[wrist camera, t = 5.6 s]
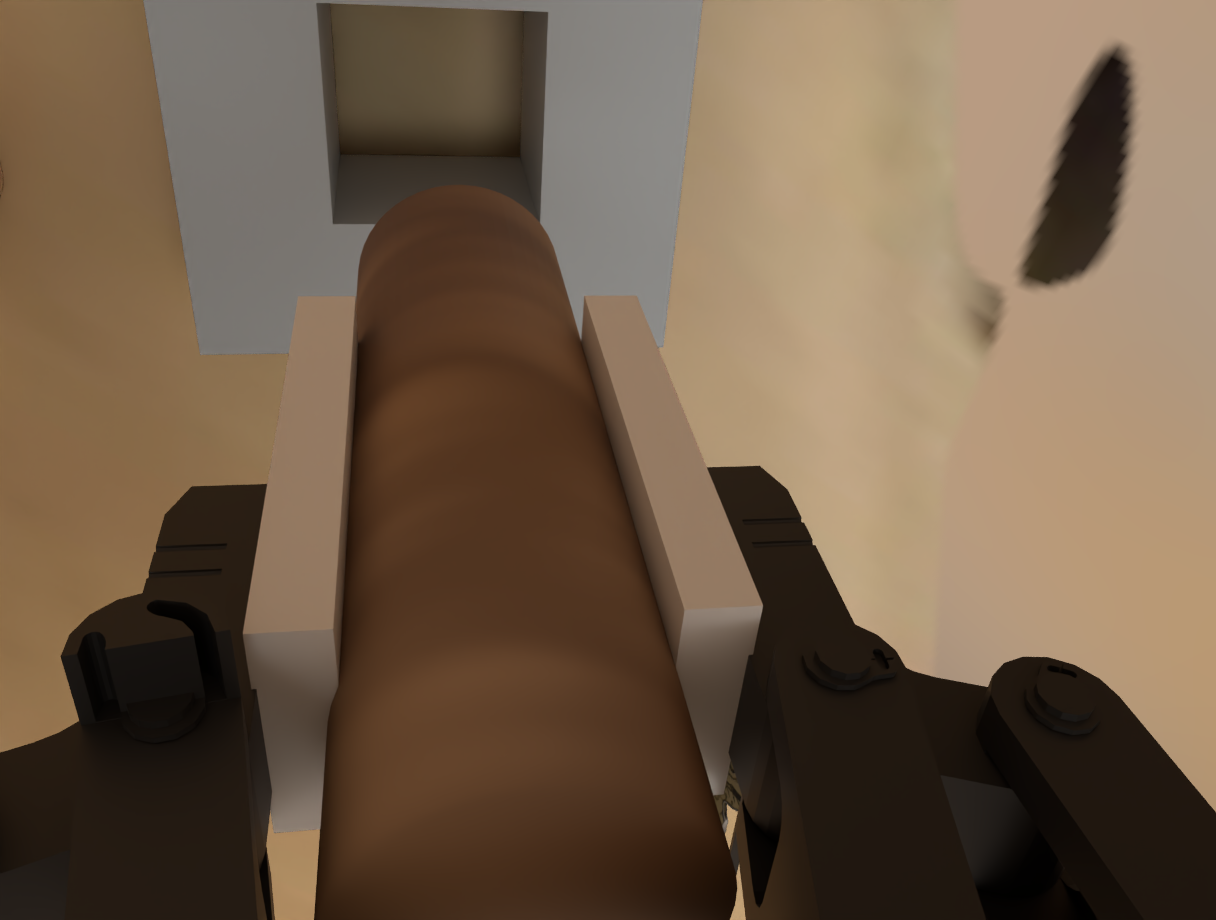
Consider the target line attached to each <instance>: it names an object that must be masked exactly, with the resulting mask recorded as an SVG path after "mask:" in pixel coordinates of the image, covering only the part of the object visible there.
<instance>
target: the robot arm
mask: <svg viewBox="0 0 1216 920" xmlns="http://www.w3.org/2000/svg"><path fill="white" fill-rule="evenodd" d="M581 343H582V347H583V350H584V353H585V357H586V360H587V364H588V367H589V371H590V374H591V378H592V381H593V384H594V388H595V391H596V395H597V398H598V402H599V405H600V408H601V412H602V415H603V419H604V422H605V426H606V429H607V433H608V436H609V439H610V443H611V446H612V450H613V453H614V457H615V460H616V464H617V467H618V470H619V474H620V477H621V481H622V484H623V488H624V491H625V495H626V498H627V501H628V505H629V508H630V512H631V515H632V519H633V522H634V525H635V529H636V532H637V536H638V539H639V543H640V546H641V550H642V553H643V556H644V560H645V563H646V567H647V570H648V574H649V577H650V581H651V584H652V587H653V591H654V594H655V598H656V601H657V605H658V608H659V612H660V615H661V618H662V622H663V625H664V629H665V632H666V636H667V639H668V642H669V646H670V649H671V653H672V656H673V660H674V663H675V667H676V670H677V673H678V676H679V679H680V682H681V686H682V689H683V693H684V696H685V700H686V703H687V707H688V710H689V713H690V717H691V720H692V724H693V727H694V731H695V734H696V737H697V741H698V744H699V748H700V751H701V755H702V758H703V762H704V765H705V768H706V772H707V775H708V779H709V782H710V786H711V789H712V792H713V795H722V794H724V790H725V785H726V781H727V776H728V771H729V766H730V762H732V766H733V769H734V772H735V775H736V778H737V781H738V784H739V788H740V791H741V794H742V796H741V801H740V805H739V810H738V814H737V819H736V823H735V828H734V832H733V837H732V841H731V846H730V850H729V851H730V854H731V858H732V861H733V865H734V868H735V871H736V874H737V870H738V865H739V864H740V873H741V882H742V890H743V899H744V907H745V916H746V920H1216V812H1215V811H1214V810H1213V808H1212V807H1211V806H1210V805H1209V804H1208V803H1207V801H1206V800H1205V799H1204V798H1203V796H1202V795H1201V794H1200V793H1199V792H1198V790H1197V789H1196V788H1195V787H1194V786H1193V785H1192V783H1191V782H1190V781H1189V780H1188V779H1187V777H1186V776H1185V775H1184V774H1183V772H1182V771H1181V770H1180V769H1179V768H1178V767H1177V765H1176V764H1175V763H1174V762H1173V760H1172V759H1171V758H1170V757H1169V756H1168V754H1167V753H1166V752H1165V751H1164V750H1163V748H1162V747H1161V746H1160V745H1159V744H1158V743H1157V741H1156V740H1155V739H1154V738H1153V736H1152V735H1151V734H1150V733H1149V732H1148V731H1147V729H1146V728H1145V727H1144V726H1143V724H1142V723H1141V722H1140V721H1139V720H1138V718H1137V717H1136V716H1135V715H1134V714H1133V712H1132V711H1131V710H1130V709H1129V708H1128V706H1127V705H1126V704H1125V703H1124V702H1123V700H1122V699H1121V698H1120V697H1119V696H1118V695H1117V694H1116V693H1115V692H1114V691H1113V690H1111V689H1110V688H1109V687H1108V686H1107V685H1106V684H1105V683H1104V682H1103V681H1101V680H1100V679H1099V678H1097V677H1095V676H1094V675H1092V674H1090V673H1088V672H1087V671H1085V670H1083V669H1081V668H1079V667H1077V666H1075V665H1073V664H1069V663H1066V662H1062V661H1059V660H1055V659H1052V658H1048V657H1021V658H1018V659H1015V660H1012V661H1009V662H1006V663H1004V664H1003V665H1002V666H1001V667H1000V668H999V669H998V670H997V672H996V673H995V674H994V675H993V676H992V678H991V681H990V684H989V686H988V687H984V686H979V685H973V684H967V683H963V682H957V681H952V680H947V679H941V678H936V677H932V676H928V675H925V674H921V673H917V672H914V671H912V670H909V669H907V668H906V667H905V666H904V664H903V662H902V660H901V659H900V657H899V655H898V653H897V652H896V650H895V649H893V648H892V647H891V646H890V645H889V644H887V643H886V642H885V641H884V640H883V639H882V638H880V637H879V636H878V635H876V634H874V633H872V632H870V631H868V630H866V629H863V628H861V627H859V626H857V625H855V624H854V622H853V620H852V618H851V616H850V614H849V612H848V610H847V608H846V606H845V604H844V602H843V600H842V598H841V596H840V594H839V592H838V590H837V588H836V586H835V584H834V582H833V580H832V578H831V576H830V574H829V572H828V570H827V568H826V566H825V564H824V562H823V560H822V558H821V556H820V554H819V552H818V550H817V548H816V546H815V545H813V544H812V538H811V536H810V534H809V532H808V530H807V528H806V526H805V524H804V523H802V522H801V516H800V514H799V512H798V510H797V508H796V506H795V504H794V502H793V500H792V498H791V496H790V494H789V492H788V490H787V489H786V488H785V487H784V486H783V485H781V484H780V483H779V482H778V481H777V480H776V479H774V478H773V477H772V476H771V475H770V474H768V473H767V472H766V471H765V470H764V469H763V468H761V467H760V466H741V467H709V468H707V467H706V464H705V462H704V459H703V457H702V455H701V452H700V450H699V447H698V445H697V442H696V440H695V437H694V435H693V432H692V430H691V428H690V425H689V423H688V420H687V418H686V415H685V413H684V410H683V408H682V406H681V403H680V401H679V398H678V396H677V393H676V391H675V388H674V386H673V383H672V381H671V379H670V376H669V374H668V371H667V369H666V366H665V364H664V361H663V359H662V357H661V354H660V352H659V349H658V347H657V344H656V342H655V339H654V337H653V334H652V332H651V330H650V327H649V325H648V322H647V320H646V317H645V315H644V312H643V310H642V307H641V305H640V303H639V300H638V298H637V296H584V307H583V322H582V336H581ZM357 359H358V329H357V312H356V296H298V300H297V306H296V313H295V319H294V325H293V331H292V337H291V343H290V349H289V355H288V361H287V367H286V373H285V379H284V386H283V392H282V398H281V404H280V410H279V416H278V422H277V428H276V434H275V440H274V446H273V452H272V458H271V465H270V471H269V477H268V483H267V484H257V485H225V486H194V487H191V488H190V489H189V490H188V491H187V492H186V493H185V494H184V495H183V496H182V497H181V498H180V499H179V500H178V502H177V503H176V504H175V505H174V506H173V507H172V508H171V509H170V510H169V511H168V512H167V513H166V514H165V516H164V520H163V523H162V527H161V530H160V534H159V537H158V541H157V544H156V552H154V555H153V558H152V562H151V565H150V569H149V578H147V579H146V583H145V586H144V590H143V593H142V594H138V595H134V596H130V597H127V598H123V599H119V600H116V601H114V602H113V603H111V604H109V605H107V606H105V607H103V608H101V609H100V610H98V611H96V612H94V613H92V614H90V615H89V616H88V617H87V618H86V619H85V620H84V621H83V622H82V623H81V624H80V625H79V626H78V627H77V628H76V629H75V630H74V631H73V632H72V633H71V634H70V635H69V637H68V640H67V642H66V645H65V647H64V650H63V652H62V655H61V659H62V663H63V666H64V669H65V673H66V676H67V680H68V683H69V686H70V690H71V693H72V697H73V700H74V704H75V707H76V710H77V714H78V717H79V721H78V722H77V723H75V724H73V725H72V726H70V727H68V728H66V729H65V730H63V731H61V732H59V733H57V734H55V735H52V736H49V737H47V738H44V739H42V740H39V741H37V742H34V743H31V744H28V745H24V746H21V747H18V748H14V749H11V750H8V751H5V752H1V753H0V920H275V916H274V904H273V893H272V881H271V872H270V866H269V860H268V854H267V848H266V842H267V833H268V824H269V815H270V811H271V817H272V823H273V830H274V833H281V832H293V831H304V830H316V829H320V826H321V811H322V796H323V782H324V767H325V752H326V737H327V723H328V717H329V712H330V707H331V704H332V701H333V699H334V696H335V693H336V691H337V689H338V686H339V669H340V652H341V635H342V617H343V600H344V583H345V566H346V548H347V531H348V514H349V497H350V480H351V462H352V445H353V428H354V411H355V393H356V376H357Z"/></svg>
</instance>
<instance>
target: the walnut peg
mask: <svg viewBox="0 0 1216 920" xmlns="http://www.w3.org/2000/svg"><path fill="white" fill-rule="evenodd" d="M356 312H357V329H358V359H357V376H356V393H355V411H354V428H353V445H352V462H351V480H350V497H349V514H348V531H347V548H346V566H345V583H344V600H343V617H342V635H341V652H340V669H339V686H338V689H337V691H336V693H335V696H334V699H333V701H332V704H331V707H330V712H329V717H328V723H327V737H326V752H325V767H324V782H323V796H322V811H321V826H320V841H319V855H318V870H317V885H316V900H315V914H314V920H730V917H731V914H732V912H733V909H734V906H735V901H736V893H737V880H736V871H735V868H734V865H733V861H732V858H731V854H730V851H729V847H728V844H727V841H726V837H725V834H724V830H723V827H722V823H721V820H720V816H719V813H718V810H717V806H716V803H715V799H714V796H713V792H712V789H711V786H710V782H709V779H708V775H707V772H706V768H705V765H704V762H703V758H702V755H701V751H700V748H699V744H698V741H697V737H696V734H695V731H694V727H693V724H692V720H691V717H690V713H689V710H688V707H687V703H686V700H685V696H684V693H683V689H682V686H681V682H680V679H679V676H678V673H677V670H676V667H675V663H674V660H673V656H672V653H671V649H670V646H669V642H668V639H667V636H666V632H665V629H664V625H663V622H662V618H661V615H660V612H659V608H658V605H657V601H656V598H655V594H654V591H653V587H652V584H651V581H650V577H649V574H648V570H647V567H646V563H645V560H644V556H643V553H642V550H641V546H640V543H639V539H638V536H637V532H636V529H635V525H634V522H633V519H632V515H631V512H630V508H629V505H628V501H627V498H626V495H625V491H624V488H623V484H622V481H621V477H620V474H619V470H618V467H617V464H616V460H615V457H614V453H613V450H612V446H611V443H610V439H609V436H608V433H607V429H606V426H605V422H604V419H603V415H602V412H601V408H600V405H599V402H598V398H597V395H596V391H595V388H594V384H593V381H592V378H591V374H590V371H589V367H588V364H587V360H586V357H585V353H584V350H583V347H582V343H581V339H580V335H579V332H578V328H577V325H576V322H575V318H574V315H573V311H572V308H571V304H570V301H569V298H568V294H567V291H566V287H565V284H564V280H563V277H562V273H561V270H560V267H559V263H558V260H557V256H556V253H555V250H554V247H553V244H552V242H551V240H550V238H549V236H548V234H547V233H546V231H545V229H544V228H543V226H542V225H541V224H540V222H539V221H538V220H537V219H536V218H535V217H534V216H533V215H532V214H531V213H530V212H529V211H528V210H527V209H526V208H524V207H523V206H522V205H520V204H519V203H517V202H516V201H514V200H513V199H511V198H509V197H507V196H505V195H503V194H501V193H499V192H496V191H493V190H490V189H487V188H482V187H477V186H470V185H446V186H440V187H434V188H430V189H427V190H424V191H420V192H418V193H416V194H414V195H411V196H409V197H407V198H405V199H404V200H402V201H401V202H399V203H397V204H396V205H395V206H393V207H392V208H391V209H390V210H389V211H387V212H386V213H385V214H384V215H383V216H382V218H381V219H380V220H379V221H378V222H377V223H376V225H375V226H374V228H373V229H372V230H371V232H370V233H369V236H368V238H367V240H366V242H365V244H364V246H363V250H362V253H361V256H360V261H359V267H358V280H357V295H356Z"/></svg>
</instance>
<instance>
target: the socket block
mask: <svg viewBox="0 0 1216 920" xmlns="http://www.w3.org/2000/svg"><path fill="white" fill-rule="evenodd" d="M143 1H144V7H145V13H146V20H147V26H148V32H149V38H150V45H151V51H152V57H153V63H154V70H155V76H156V82H157V88H158V95H159V101H160V107H161V113H162V120H163V126H164V132H165V138H166V144H167V151H168V157H169V163H170V169H171V176H172V182H173V188H174V194H175V201H176V207H177V213H178V219H179V226H180V232H181V238H182V244H183V251H184V257H185V263H186V269H187V276H188V282H189V288H190V294H191V300H192V307H193V313H194V319H195V325H196V332H197V338H198V344H199V350H200V355H226V354H287V353H289V349H290V343H291V337H292V331H293V325H294V319H295V313H296V306H297V300H298V296H356V295H357V280H358V267H359V261H360V256H361V253H362V250H363V246H364V244H365V242H366V240H367V238H368V236H369V233H370V232H371V230H372V229H373V228H374V226H375V225H376V223H377V222H378V221H379V220H380V219H381V218H382V216H383V215H384V214H385V213H386V212H387V211H389V210H390V209H391V208H392V207H393V206H395V205H396V204H397V203H399V202H401V201H402V200H404V199H405V198H407V197H409V196H411V195H414V194H416V193H418V192H420V191H424V190H427V189H430V188H434V187H440V186H446V185H470V186H477V187H482V188H487V189H490V190H493V191H496V192H499V193H501V194H503V195H505V196H507V197H509V198H511V199H513V200H514V201H516V202H517V203H519V204H520V205H522V206H523V207H524V208H526V209H527V210H528V211H529V212H530V213H531V214H532V215H533V216H534V217H535V218H536V219H537V220H538V221H539V222H540V224H541V225H542V226H543V228H544V229H545V231H546V233H547V234H548V236H549V238H550V240H551V242H552V244H553V247H554V250H555V253H556V256H557V260H558V263H559V267H560V270H561V273H562V277H563V280H564V284H565V287H566V291H567V294H568V298H569V301H570V304H571V308H572V311H573V315H574V318H575V322H576V325H577V328H578V332H579V335H580V339H581V336H582V322H583V307H584V296H637V298H638V300H639V303H640V305H641V307H642V310H643V312H644V315H645V317H646V320H647V322H648V325H649V327H650V330H651V332H652V334H653V337H654V339H655V342H656V344H657V347H663V345H664V336H665V327H666V318H667V310H668V301H669V292H670V283H671V275H672V266H673V257H674V248H675V240H676V231H677V222H678V213H679V205H680V196H681V187H682V178H683V170H684V161H685V152H686V143H687V135H688V126H689V117H690V108H691V100H692V91H693V82H694V73H695V64H696V56H697V47H698V38H699V29H700V21H701V12H702V3H703V0H143ZM330 3H336V4H361V5H386V6H412V7H437V8H463V9H488V10H513V11H524V27H523V65H522V102H521V140H520V157H478V156H412V155H347V154H340V143H339V128H338V113H337V99H336V84H335V70H334V55H333V41H332V26H331V12H330Z"/></svg>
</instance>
